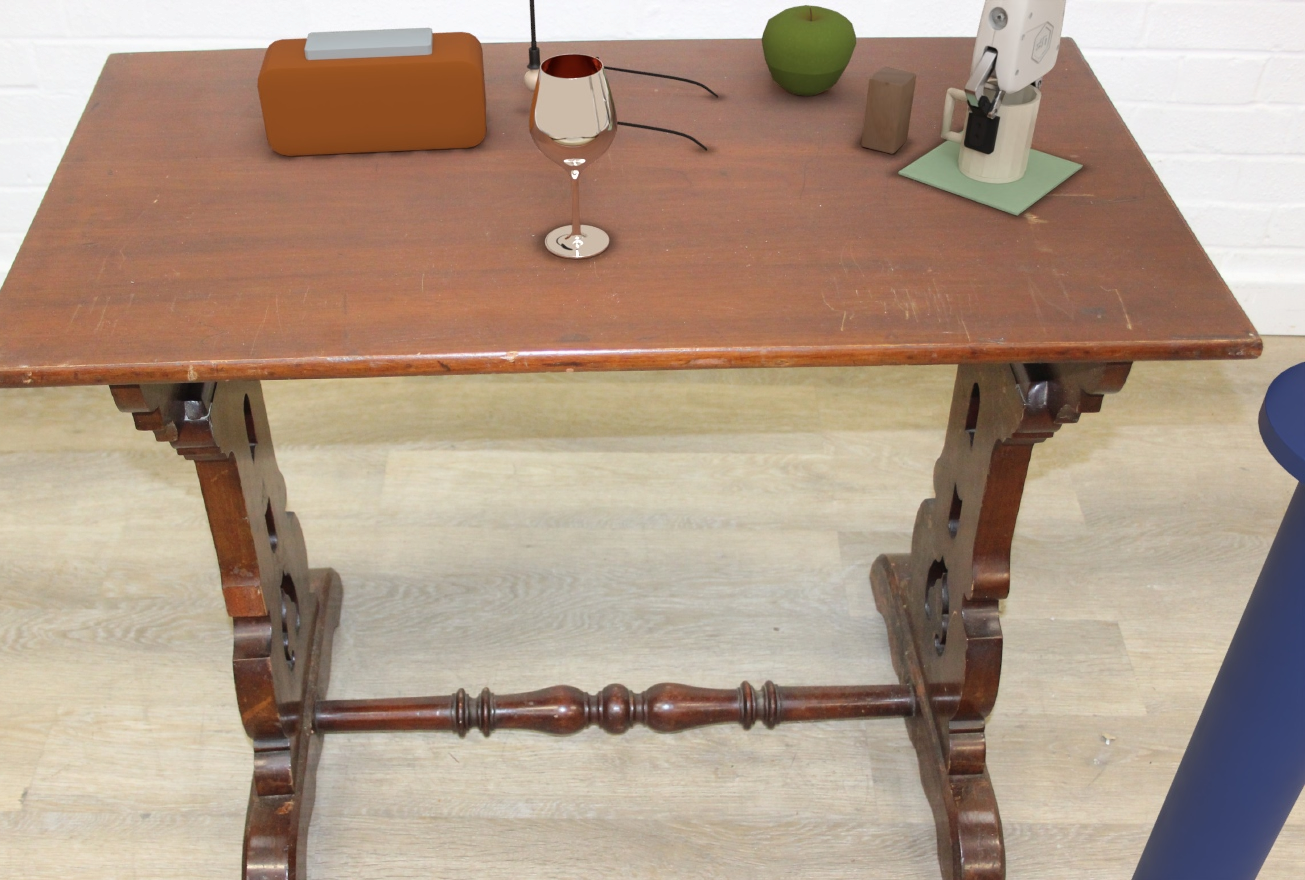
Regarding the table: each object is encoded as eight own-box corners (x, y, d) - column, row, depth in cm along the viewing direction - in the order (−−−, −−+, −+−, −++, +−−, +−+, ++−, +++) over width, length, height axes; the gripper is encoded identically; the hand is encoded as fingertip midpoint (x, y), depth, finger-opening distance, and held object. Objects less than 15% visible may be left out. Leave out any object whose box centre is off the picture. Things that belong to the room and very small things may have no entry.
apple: (756, 107, 155) (761, 22, 148) (760, 71, 163) (765, -11, 156) (850, 111, 154) (860, 26, 147) (850, 75, 162) (859, -8, 155)
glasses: (593, 90, 159) (597, 50, 156) (715, 110, 158) (722, 70, 155) (572, 143, 148) (576, 101, 145) (704, 165, 148) (711, 123, 144)
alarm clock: (487, 116, 154) (480, 19, 147) (487, 148, 148) (480, 48, 141) (278, 125, 153) (261, 28, 146) (269, 158, 147) (251, 58, 139)
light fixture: (564, 119, 153) (556, -108, 137) (506, 120, 153) (492, -108, 137) (566, 95, 158) (559, -127, 142) (510, 95, 158) (497, -126, 142)
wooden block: (893, 155, 145) (903, 85, 140) (859, 147, 147) (868, 77, 141) (907, 141, 147) (918, 72, 142) (874, 133, 149) (883, 64, 144)
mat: (1082, 167, 142) (1082, 165, 142) (1017, 215, 134) (1017, 213, 134) (966, 130, 149) (966, 127, 149) (898, 174, 142) (898, 171, 141)
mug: (1037, 166, 142) (1053, 90, 136) (1004, 190, 138) (1020, 112, 132) (954, 140, 147) (967, 65, 141) (920, 162, 143) (932, 86, 138)
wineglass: (539, 266, 128) (530, 87, 116) (531, 225, 134) (522, 51, 123) (623, 260, 129) (623, 81, 117) (611, 219, 135) (610, 45, 123)
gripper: (1020, -2, 121) (987, 177, 132) (1108, -51, 131) (1069, 120, 142) (948, -20, 125) (921, 155, 136) (1038, -67, 135) (1006, 101, 146)
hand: (997, 136), depth 139 cm, fingers closed on mug, 7 cm apart
